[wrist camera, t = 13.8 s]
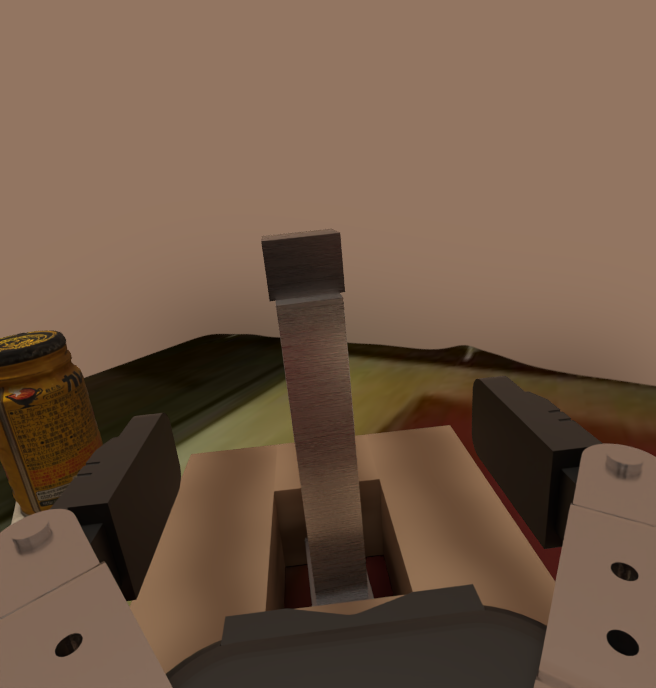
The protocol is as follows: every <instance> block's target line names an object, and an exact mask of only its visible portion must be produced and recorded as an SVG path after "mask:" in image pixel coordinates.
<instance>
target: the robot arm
mask: <svg viewBox="0 0 656 688" xmlns="http://www.w3.org/2000/svg"><path fill="white" fill-rule="evenodd" d="M472 439H473V444H474V448H475V450H476V453H477V455H478V457H479V458H480V459H481V461H482V462H483V464H484V465H485V466H486V468H487V469H488V471H489V472H490V473H491V475H492V476H493V478H494V479H495V480H496V482H497V483H498V485H499V486H500V487H501V489H502V490H503V492H504V493H505V494H506V496H507V497H508V499H509V500H510V501H511V503H512V504H513V506H514V507H515V509H516V510H517V511H518V513H519V514H520V516H521V517H522V518H523V520H524V521H525V523H526V524H527V525H528V527H529V528H530V530H531V531H532V532H533V534H534V535H535V537H536V538H537V539H538V541H539V542H540V544H541V545H542V546H543V548H544V549H547V548H555V547H562V551H561V556H560V562H559V567H558V572H557V577H556V583H555V588H554V593H553V598H552V604H551V609H550V614H549V619H548V625H547V626H546V625H545V624H543V623H541V622H539V621H537V620H534V619H532V618H530V617H527V616H525V615H523V614H519V613H516V612H513V611H510V610H507V609H502V608H498V607H493V606H486V605H483V604H482V602H481V600H480V598H479V596H478V594H477V591H476V589H475V587H474V585H473V584H469V585H462V586H454V587H446V588H439V589H431V590H424V591H416V592H412V593H409V594H406V595H404V596H401V597H399V598H396V599H394V600H391V601H388V602H386V603H383V604H381V605H378V606H376V607H373V608H370V609H368V610H365V611H363V612H360V613H357V614H352V615H345V614H335V613H326V612H317V611H307V610H298V609H288V608H286V609H279V610H271V611H264V612H256V613H248V614H241V615H233V616H225V622H224V628H223V634H222V640H220V641H217V642H215V643H213V644H211V645H209V646H207V647H205V648H203V649H201V650H199V651H197V652H195V653H194V654H192V655H191V656H189V657H188V658H186V659H184V660H183V661H182V662H180V663H179V664H178V665H176V666H175V667H174V668H172V669H171V670H170V671H169V672H167V673H166V674H165V673H164V671H163V669H162V667H161V665H160V663H159V661H158V659H157V658H156V656H155V654H154V652H153V650H152V648H151V646H150V645H149V643H148V641H147V639H146V637H145V635H144V633H143V631H142V630H141V628H140V626H139V624H138V622H137V620H136V618H135V617H134V615H133V613H132V611H131V609H130V607H129V605H128V603H127V602H126V601H131V600H137V597H138V595H139V592H140V590H141V587H142V584H143V582H144V579H145V577H146V574H147V572H148V569H149V566H150V564H151V561H152V559H153V556H154V554H155V551H156V548H157V546H158V543H159V541H160V538H161V536H162V533H163V531H164V528H165V525H166V523H167V520H168V518H169V515H170V513H171V510H172V507H173V505H174V502H175V500H176V497H177V495H178V492H179V489H180V483H181V470H180V464H179V459H178V455H177V451H176V446H175V442H174V437H173V433H172V429H171V424H170V420H169V418H168V416H167V414H165V413H160V414H151V415H142V416H134V417H133V418H132V419H131V421H130V422H129V423H128V425H127V426H126V428H125V429H124V430H123V432H122V433H121V434H120V436H119V437H115V438H112V439H111V440H109V441H108V442H107V443H105V444H104V445H102V446H101V447H100V448H98V449H97V450H96V451H95V452H94V453H93V454H92V456H91V457H90V458H89V460H88V461H87V462H86V466H83V467H82V469H81V470H80V471H79V472H78V474H77V477H75V478H74V479H73V480H72V481H71V483H70V484H69V485H68V487H67V488H66V489H65V490H64V492H63V493H62V494H61V496H60V497H59V498H58V499H57V501H56V502H55V503H54V505H53V506H52V507H51V508H50V510H45V511H41V512H38V513H35V514H32V515H30V516H27V517H25V518H23V519H21V520H19V521H17V522H15V523H13V524H12V525H10V526H9V527H7V528H6V529H4V530H3V531H2V532H1V533H0V688H656V457H654V456H653V455H651V454H649V453H647V452H644V451H642V450H639V449H636V448H633V447H629V446H624V445H618V444H602V443H601V442H600V441H599V440H597V439H596V438H595V437H594V436H592V435H591V434H590V433H589V432H587V431H586V430H585V429H584V428H582V427H581V426H580V425H579V424H577V423H576V422H575V421H574V420H572V421H571V418H570V417H569V416H567V415H566V414H565V413H564V412H560V409H559V408H557V407H556V406H555V405H554V404H552V403H551V402H550V401H549V400H547V399H545V398H543V397H540V396H538V395H536V394H533V393H531V392H524V391H523V390H522V389H521V388H520V387H519V386H517V385H516V384H515V383H514V382H513V381H511V380H510V379H509V378H508V377H506V376H499V377H490V378H481V379H476V380H475V382H474V384H473V403H472Z"/></svg>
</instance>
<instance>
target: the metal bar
mask: <svg viewBox="0 0 656 688" xmlns="http://www.w3.org/2000/svg"><path fill="white" fill-rule="evenodd" d="M261 242H262V249H263V257H264V263H265V271H266V278H267V285H268V292H269V299H270V301H275V300H276V308H277V316H278V323H279V330H280V338H281V345H282V353H283V360H284V367H285V375H286V382H287V389H288V397H289V404H290V411H291V418H292V426H293V433H294V440H295V448H296V455H297V462H298V470H299V477H300V484H301V492H302V499H303V506H304V514H305V521H306V528H307V536H308V538H305V545H306V554H307V563H308V572H309V581H310V590H311V599H312V607H313V606H321V605H329V604H336V603H344V602H352V601H360V600H368V599H374V597H373V593H372V590H371V586H370V582H369V578H368V575H367V571H366V561H365V549H364V537H363V525H362V514H361V502H360V490H359V478H358V467H357V455H356V443H355V432H354V420H353V408H352V396H351V385H350V373H349V361H348V349H347V338H346V327H345V314H344V302H343V297H342V296H341V294H340V293H341V292H345V287H344V274H343V262H342V250H341V238H340V233H339V232H337V231H335V230H333V229H325V230H316V231H308V232H307V231H306V232H298V233H288V234H279V235H269V236H262V240H261Z"/></svg>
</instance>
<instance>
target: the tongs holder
mask: <svg viewBox="0 0 656 688" xmlns="http://www.w3.org/2000/svg"><path fill="white" fill-rule="evenodd" d="M355 443H356V455H357V467H358V478H359V490H360V502H361V514H362V525H363V537H364V549H365V557H368V556H376V555H384V558H385V562H386V566H387V570H388V574H389V578H390V582H391V587H392V591H393V595H394V596H392V597H384V598H376V599H368V600H360V601H352V602H344V603H336V604H329V605H321V606H313V607H305V608H297V609H298V610H307V611H317V612H326V613H335V614H345V615H352V614H357V613H360V612H363V611H365V610H368V609H370V608H373V607H376V606H378V605H381V604H383V603H386V602H388V601H391V600H394V599H396V598H399V597H401V596H404V595H406V594H409V593H412V592H416V591H424V590H431V589H439V588H446V587H454V586H462V585H469V584H473V585H474V587H475V589H476V591H477V594H478V596H479V598H480V600H481V602H482V604H483V605H486V606H493V607H498V608H502V609H507V610H510V611H513V612H516V613H519V614H523V615H525V616H527V617H530V618H532V619H534V620H537V621H539V622H541V623H543V624H545V625H546V626H547V625H548V619H549V614H550V609H551V604H552V598H553V593H554V588H555V583H556V582H555V581H554V579H553V578H552V577H551V575H550V574H549V572H548V571H547V569H546V568H545V566H544V565H543V563H542V562H541V560H540V559H539V557H538V556H537V554H536V553H535V551H534V550H533V548H532V547H531V545H530V544H529V542H528V541H527V539H526V538H525V536H524V535H523V533H522V532H521V530H520V529H519V527H518V526H517V524H516V523H515V521H514V520H513V519H512V517H511V516H510V514H509V513H508V511H507V510H506V508H505V507H504V505H503V504H502V502H501V501H500V499H499V498H498V496H497V495H496V493H495V492H494V490H493V489H492V487H491V486H490V484H489V483H488V481H487V480H486V478H485V477H484V475H483V474H482V472H481V471H480V469H479V468H478V466H477V465H476V463H475V462H474V461H473V459H472V458H471V456H470V455H469V453H468V452H467V450H466V449H465V447H464V446H463V444H462V443H461V441H460V440H459V438H458V437H457V435H456V434H455V432H454V431H453V429H452V428H451V426H450V425H448V426H439V427H430V428H421V429H413V430H404V431H395V432H386V433H377V434H368V435H359V436H355ZM305 538H308V536H307V528H306V521H305V514H304V506H303V499H302V492H301V484H300V477H299V470H298V462H297V455H296V448H295V443H288V444H279V445H270V446H261V447H252V448H243V449H234V450H225V451H216V452H207V453H199V454H191V456H190V458H189V461H188V463H187V466H186V468H185V471H184V473H183V476H182V478H181V483H180V489H179V492H178V495H177V497H176V500H175V502H174V505H173V507H172V510H171V513H170V515H169V518H168V520H167V523H166V525H165V528H164V531H163V533H162V536H161V538H160V541H159V543H158V546H157V548H156V551H155V554H154V556H153V559H152V561H151V564H150V566H149V569H148V572H147V574H146V577H145V579H144V582H143V584H142V587H141V590H140V592H139V595H138V597H137V600H132V603H131V605H130V609H131V611H132V613H133V615H134V617H135V618H136V620H137V622H138V624H139V626H140V628H141V630H142V631H143V633H144V635H145V637H146V639H147V641H148V643H149V645H150V646H151V648H152V650H153V652H154V654H155V656H156V658H157V659H158V661H159V663H160V665H161V667H162V669H163V671H164V673H165V674H166V673H167V672H169V671H170V670H171V669H172V668H174V667H175V666H176V665H178V664H179V663H180V662H182V661H183V660H184V659H186V658H188V657H189V656H191V655H192V654H194V653H195V652H197V651H199V650H201V649H203V648H205V647H207V646H209V645H211V644H213V643H215V642H217V641H220V640H222V634H223V628H224V622H225V616H233V615H241V614H248V613H256V612H264V611H271V610H279V609H284V595H285V567H287V566H295V565H303V564H308V563H307V554H306V545H305Z"/></svg>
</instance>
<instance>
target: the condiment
mask: <svg viewBox="0 0 656 688" xmlns="http://www.w3.org/2000/svg"><path fill="white" fill-rule="evenodd" d="M71 359H72V357H71V353H70V352H69V350H67V346H66V339H65V337H64V336H63V334H62V333H60V332H57V331H34V332H28V333H21V334H17V335H12V336H7V337H3V338H0V460H1V463H2V465H3V468H4V470H5V472H6V475H7V478H8V479H9V484H10V485H11V488H12V491H13V496H14V498H15V500H16V505H15V510H14V515H13V519H12V523H11V525H12V524H13V523H15V522H17V521H19V520H21V519H23V518H25V517H27V516H30V515H32V514H35V513H38V512H41V511H45V510H50V508H51V507H52V506H53V505H54V503H55V502H56V501H57V499H58V498H59V497H60V496H61V494H62V493H63V492H64V490H65V489H66V488H67V487H68V485H69V484H70V483H71V481H72V480H73V479H74V478H75V477H77V474H78V472H79V471H80V470H81V469H82V467H83V466H86V462H87V461H88V460H89V458H90V457H91V456H92V454H93V453H94V452H95V451H96V450H97V449H98V448H100V447H101V446H102V445H103V444H102V439H101V437H100V432H99V430H98V427H97V423H96V420H95V417H94V412H93V410H92V407H91V403H90V400H89V396H88V392H87V389H86V385H85V382H84V377H83V375H82V372H81V370H80V369H79V368H78V367H77V366H76V365H74V364H73V363H72V362H71Z"/></svg>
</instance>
